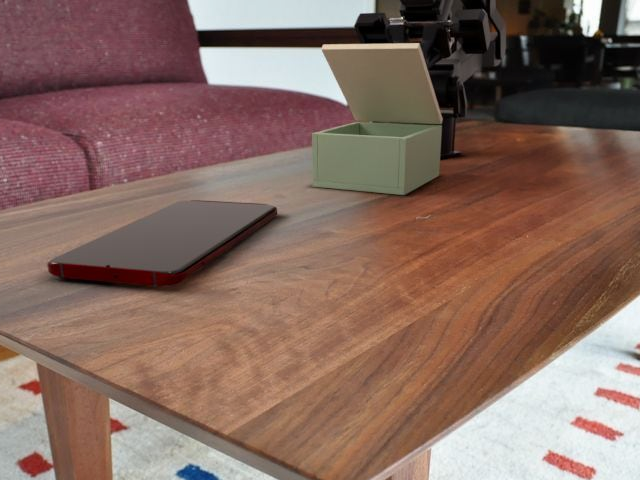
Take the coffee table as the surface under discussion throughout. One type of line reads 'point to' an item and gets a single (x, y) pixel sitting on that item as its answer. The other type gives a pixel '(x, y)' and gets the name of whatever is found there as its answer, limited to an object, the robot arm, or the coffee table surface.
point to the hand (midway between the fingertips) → (404, 78)
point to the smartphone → (164, 243)
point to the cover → (384, 82)
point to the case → (376, 157)
